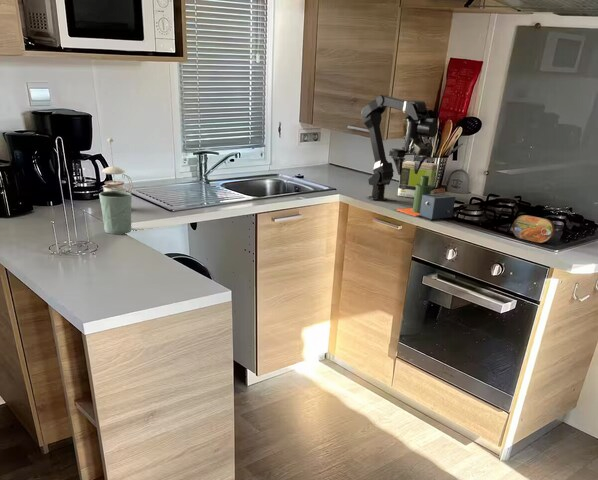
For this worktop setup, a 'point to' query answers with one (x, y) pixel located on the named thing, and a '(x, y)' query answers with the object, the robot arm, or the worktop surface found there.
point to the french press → (113, 171)
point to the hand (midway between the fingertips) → (407, 174)
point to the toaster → (437, 206)
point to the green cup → (116, 211)
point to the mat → (409, 211)
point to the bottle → (421, 193)
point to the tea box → (415, 178)
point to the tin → (533, 228)
